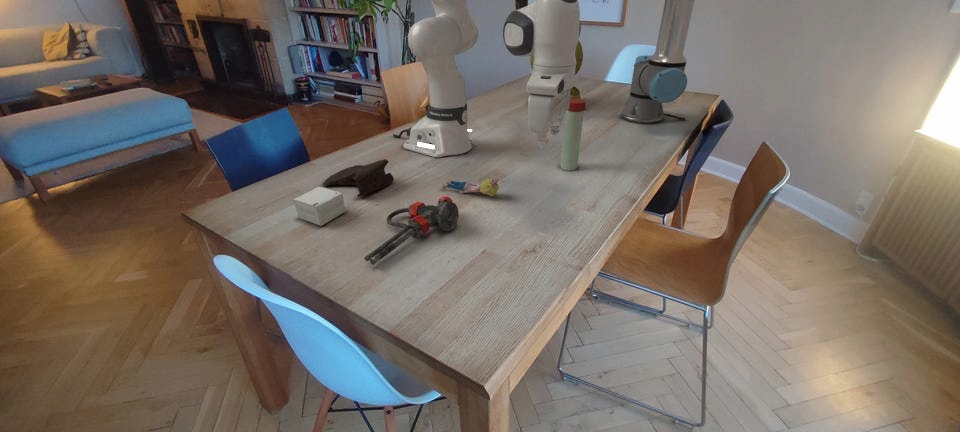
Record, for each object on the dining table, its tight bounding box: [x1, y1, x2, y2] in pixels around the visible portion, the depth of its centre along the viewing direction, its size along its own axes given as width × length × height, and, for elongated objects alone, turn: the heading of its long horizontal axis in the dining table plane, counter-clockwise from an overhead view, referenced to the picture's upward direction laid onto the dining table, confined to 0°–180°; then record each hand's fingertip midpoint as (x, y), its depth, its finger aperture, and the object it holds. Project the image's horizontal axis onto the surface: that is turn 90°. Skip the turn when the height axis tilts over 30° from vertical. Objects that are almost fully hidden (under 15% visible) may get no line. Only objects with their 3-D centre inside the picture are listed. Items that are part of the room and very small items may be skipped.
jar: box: [559, 110, 585, 171], centre depth 118 cm, size 5×5×19 cm
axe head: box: [322, 158, 394, 198], centre depth 113 cm, size 18×8×15 cm
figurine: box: [442, 178, 499, 197], centre depth 108 cm, size 6×4×15 cm
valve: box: [364, 195, 460, 265], centre depth 91 cm, size 6×26×15 cm
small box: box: [293, 186, 347, 226], centre depth 98 cm, size 8×8×5 cm
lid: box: [568, 98, 587, 111], centre depth 114 cm, size 6×6×2 cm
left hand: (548, 140), depth 96 cm, fingers open, 8 cm apart
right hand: (519, 47), depth 139 cm, fingers open, 13 cm apart
